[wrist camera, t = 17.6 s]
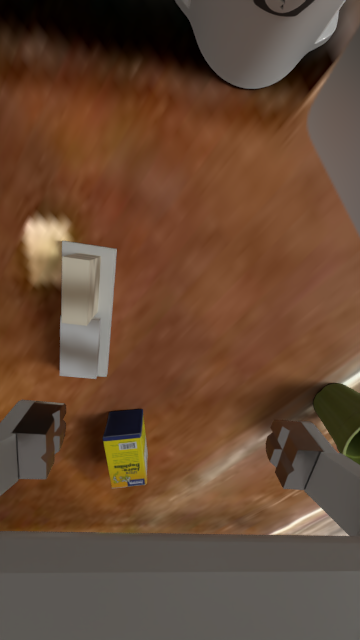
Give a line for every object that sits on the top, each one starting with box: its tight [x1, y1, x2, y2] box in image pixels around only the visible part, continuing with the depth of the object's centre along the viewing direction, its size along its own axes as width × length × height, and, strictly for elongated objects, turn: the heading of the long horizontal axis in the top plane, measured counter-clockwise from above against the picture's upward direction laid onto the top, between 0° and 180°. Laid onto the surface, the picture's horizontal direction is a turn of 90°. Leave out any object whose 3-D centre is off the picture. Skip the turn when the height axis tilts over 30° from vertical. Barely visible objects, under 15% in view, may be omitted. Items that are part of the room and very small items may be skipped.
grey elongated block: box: [60, 253, 101, 379], centre depth 34 cm, size 17×5×6 cm, turn 171°
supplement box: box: [103, 409, 148, 488], centre depth 43 cm, size 6×6×11 cm
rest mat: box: [61, 241, 117, 377], centre depth 37 cm, size 20×7×1 cm, turn 171°
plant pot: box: [313, 383, 360, 465], centre depth 41 cm, size 12×12×11 cm
